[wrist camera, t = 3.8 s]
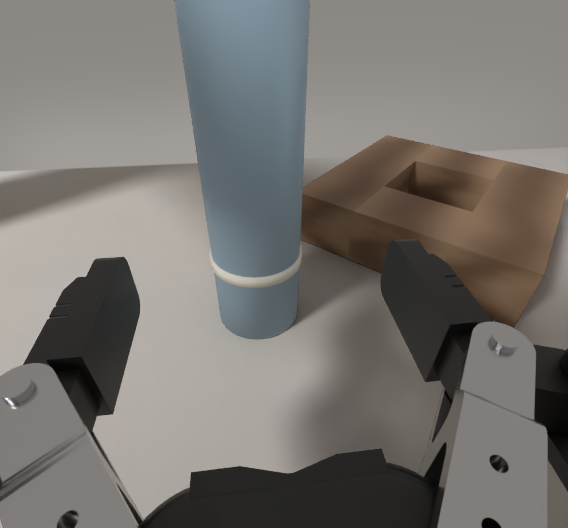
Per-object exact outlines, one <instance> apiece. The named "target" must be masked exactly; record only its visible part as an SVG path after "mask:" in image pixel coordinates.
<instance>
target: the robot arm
mask: <svg viewBox="0 0 568 528" xmlns="http://www.w3.org/2000/svg"><path fill="white" fill-rule="evenodd" d="M381 291H382V295H383V297H384V300H385V302H386V304H387V306H388V308H389V310H390V312H391V314H392V316H393V318H394V320H395V322H396V324H397V326H398V328H399V330H400V332H401V334H402V336H403V338H404V340H405V342H406V344H407V346H408V348H409V350H410V352H411V354H412V356H413V358H414V360H415V362H416V364H417V366H418V368H419V370H420V372H421V374H422V376H423V378H424V380H425V382H430V381H439V380H440V381H441V382H442V384H443V386H444V389H443V391H442V394H441V397H440V401H439V405H438V409H437V412H436V416H435V420H434V424H433V428H432V432H431V435H430V439H429V443H428V447H427V450H426V453H425V456H424V459H423V461H422V464H421V466H420V469H419V472H418V474H417V473H416V472H414V471H411V470H409V469H407V468H404V467H402V466H398V465H395V464H391V463H386V461H385V458H384V455H383V452H382V449H374V450H366V451H358V452H350V453H342V454H336V455H334V456H331V457H329V458H327V459H324V460H322V461H320V462H318V463H315V464H313V465H311V466H308V467H306V468H304V469H301V470H299V471H297V472H294V473H289V474H287V473H280V472H273V471H267V470H260V469H254V468H247V467H241V466H238V467H231V468H223V469H215V470H207V471H199V472H191V481H190V487H189V488H187V489H185V490H183V491H181V492H179V493H177V494H175V495H174V496H172V497H170V498H169V499H168V500H166V501H165V502H163V503H162V504H161V505H159V506H158V507H157V508H156V509H155V510H154V511H153V512H152V513H150V514H149V515H148V516H147V517H146V518H145V519H143V517H142V515H141V514H140V512H139V510H138V509H137V507H136V505H135V503H134V502H133V500H132V499H131V497H130V495H129V494H128V492H127V490H126V488H125V487H124V485H123V483H122V481H121V480H120V478H119V476H118V474H117V473H116V471H115V469H114V467H113V465H112V464H111V462H110V460H109V458H108V457H107V455H106V453H105V451H104V449H103V448H102V446H101V444H100V442H99V441H98V439H97V437H96V435H95V433H94V432H93V427H94V424H95V420H96V417H97V416H100V415H110V414H113V412H114V408H115V404H116V401H117V397H118V393H119V389H120V386H121V382H122V378H123V375H124V371H125V367H126V363H127V360H128V356H129V352H130V348H131V345H132V341H133V337H134V334H135V330H136V326H137V322H138V319H139V314H140V300H139V295H138V292H137V289H136V286H135V283H134V280H133V277H132V274H131V271H130V268H129V265H128V262H127V260H126V259H125V258H124V257H115V258H100V259H95V260H94V262H93V264H92V266H91V268H90V270H89V272H88V274H87V276H86V277H77V278H76V279H75V280H74V281H73V282H72V283H71V284H70V285H69V286H67V287H66V288H65V289H64V290H63V292H62V294H61V295H60V297H59V299H58V301H57V303H56V307H54V308H53V310H52V312H51V314H50V316H49V317H50V319H48V320H47V321H46V323H45V325H44V327H43V329H42V331H41V333H40V334H39V336H38V338H37V340H36V342H35V344H34V346H33V347H32V349H31V351H30V353H29V355H28V357H27V359H26V360H25V362H24V364H23V365H22V366H19V367H16V368H14V369H12V370H10V371H8V372H6V373H4V374H3V375H2V376H0V519H1V523H2V526H3V528H548V460H549V462H550V463H551V465H552V467H553V468H554V470H555V472H556V473H557V475H558V476H559V478H560V480H561V481H562V483H563V485H564V486H565V488H566V489H567V491H568V349H567V350H562V349H556V348H550V347H544V346H538V345H533V344H532V343H531V341H530V340H529V339H528V338H527V337H526V336H525V335H524V334H522V333H521V332H520V331H518V330H516V329H515V328H513V327H511V326H508V325H506V324H502V323H498V322H493V320H492V319H491V318H490V317H489V315H488V314H487V313H486V312H485V310H484V309H483V308H482V306H481V305H480V304H479V303H478V301H477V300H476V299H475V298H474V296H473V295H472V294H471V292H470V291H469V290H468V289H467V287H464V283H463V282H462V281H461V280H460V278H459V277H457V275H456V273H455V272H454V271H453V269H452V268H451V267H450V266H449V264H448V263H447V262H445V261H444V260H442V259H441V258H439V257H438V256H436V255H435V254H428V253H427V251H426V250H425V249H424V247H423V246H422V245H421V243H420V242H419V241H418V240H417V239H405V240H392V241H391V242H390V243H389V246H388V249H387V254H386V258H385V263H384V267H383V271H382V276H381Z"/></svg>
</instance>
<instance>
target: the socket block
mask: <svg viewBox="0 0 568 528" xmlns="http://www.w3.org/2000/svg"><path fill="white" fill-rule="evenodd" d="M567 191H568V174H563V173H558V172H554V171H549V170H545V169H540V168H535V167H531V166H526V165H521V164H517V163H512V162H508V161H503V160H498V159H494V158H489V157H484V156H480V155H475V154H471V153H466V152H461V151H457V150H452V149H447V148H443V147H438V146H434V145H429V144H424V143H420V142H415V141H410V140H406V139H401V138H397V137H392V136H385V137H384V138H382V139H380V140H379V141H377V142H376V143H374V144H373V145H371V146H370V147H368V148H366V149H364V150H363V151H361V152H359V153H358V154H356V155H355V156H353V157H351V158H350V159H348V160H346V161H345V162H343V163H342V164H340V165H338V166H337V167H335V168H333V169H332V170H330V171H329V172H327V173H325V174H324V175H322V176H321V177H319V178H317V179H316V180H314V181H312V182H311V183H309V184H308V185H306V186H304V187H303V188H302V212H301V237H300V239H301V240H304V241H306V242H308V243H311V244H313V245H316V246H318V247H320V248H323V249H325V250H328V251H330V252H332V253H335V254H337V255H340V256H342V257H345V258H347V259H349V260H352V261H354V262H357V263H359V264H361V265H364V266H366V267H369V268H371V269H374V270H376V271H378V272H381V273H382V271H383V267H384V263H385V258H386V254H387V249H388V246H389V243H390V242H391V241H392V240H405V239H417V240H418V241H419V242H420V243H421V245H422V246H423V247H424V249H425V250H426V251H427V253H428V254H435V255H436V256H438V257H439V258H441V259H442V260H444V261H445V262H447V263H448V264H449V266H450V267H451V268H452V269H453V271H454V272H455V273H456V275H457V277H459V278H460V280H461V281H462V282H463V283H464V287H467V289H468V290H469V291H470V292H471V294H472V295H473V296H474V298H475V299H476V300H477V301H478V303H479V304H480V305H481V306H482V308H483V309H484V310H485V312H486V313H487V314H488V315H489V317H490V318H492V319H494V320H497V321H499V322H501V323H504V324H506V325H509V326H511V327H514V326H515V324H516V322H517V321H518V319H519V317H520V315H521V314H522V312H523V310H524V309H525V307H526V305H527V304H528V302H529V300H530V298H531V297H532V295H533V293H534V292H535V290H536V288H537V287H538V285H539V283H540V281H541V280H542V278H543V276H544V273H545V270H546V266H547V263H548V259H549V255H550V252H551V248H552V245H553V241H554V237H555V234H556V230H557V227H558V223H559V220H560V216H561V212H562V209H563V205H564V202H565V198H566V194H567Z"/></svg>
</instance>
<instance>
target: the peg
mask: <svg viewBox="0 0 568 528" xmlns="http://www.w3.org/2000/svg"><path fill="white" fill-rule="evenodd" d="M174 2H175V9H176V16H177V23H178V29H179V36H180V43H181V49H182V57H183V63H184V70H185V77H186V83H187V90H188V97H189V104H190V111H191V117H192V125H193V131H194V138H195V145H196V152H197V158H198V165H199V172H200V179H201V186H202V192H203V199H204V206H205V213H206V220H207V226H208V233H209V240H210V247H211V249H210V260H211V266H212V269H213V271H214V274H215V281H216V287H217V294H218V301H219V308H220V315H221V319H222V322H223V324H224V325H225V326H226V328H227V329H228V330H230V331H231V332H232V333H234V334H236V335H238V336H241V337H244V338H249V339H266V338H271V337H274V336H277V335H279V334H281V333H283V332H284V331H286V330H287V329H288V328H289V327H291V325H292V324H293V323H294V321H295V319H296V317H297V312H298V287H299V267H300V265H301V258H302V248H301V244H300V237H301V212H302V187H303V162H304V137H305V111H306V85H307V62H308V37H309V10H310V0H174Z"/></svg>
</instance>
